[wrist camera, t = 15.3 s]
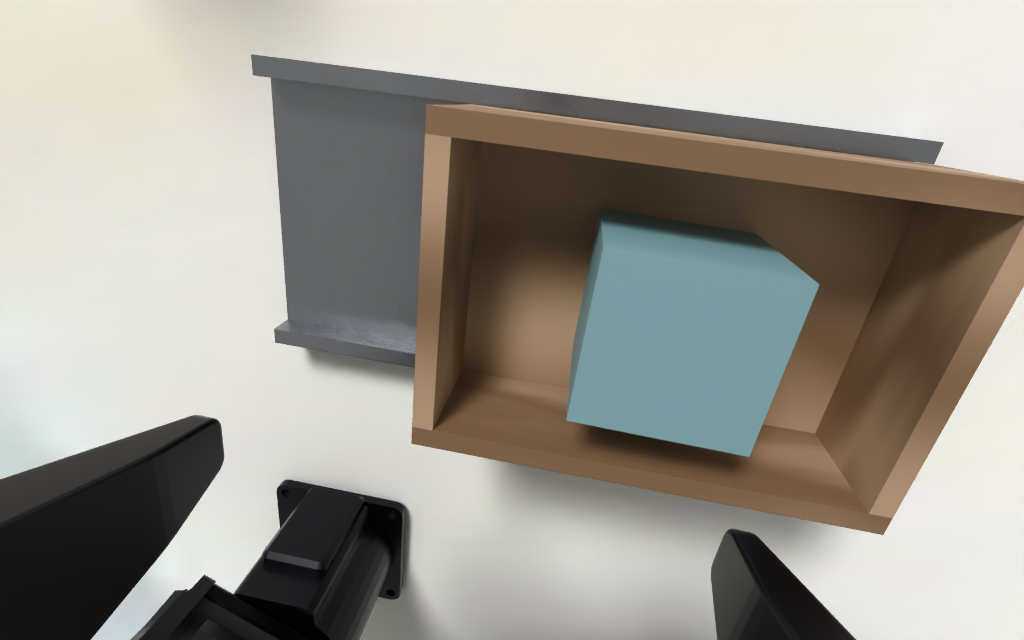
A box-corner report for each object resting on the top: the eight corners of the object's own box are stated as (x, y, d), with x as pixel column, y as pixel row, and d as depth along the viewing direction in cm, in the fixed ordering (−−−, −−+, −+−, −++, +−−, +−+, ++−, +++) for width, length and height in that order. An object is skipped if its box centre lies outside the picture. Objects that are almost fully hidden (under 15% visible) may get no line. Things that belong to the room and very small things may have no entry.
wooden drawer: (802, 414, 19) (883, 534, 14) (459, 354, 20) (411, 443, 15) (909, 160, 15) (1077, 190, 10) (480, 104, 16) (426, 104, 11)
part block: (710, 368, 16) (749, 456, 12) (572, 343, 17) (566, 420, 13) (756, 233, 15) (820, 284, 10) (600, 208, 15) (603, 247, 11)
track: (796, 414, 20) (812, 439, 19) (296, 326, 22) (275, 342, 20) (911, 138, 16) (943, 142, 14) (279, 58, 18) (251, 54, 16)
